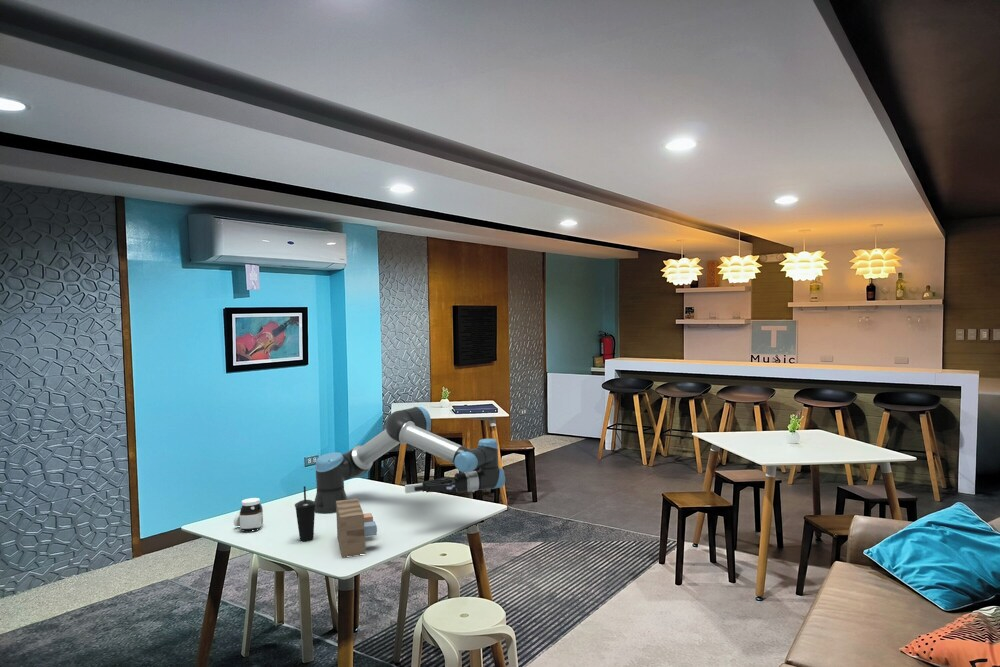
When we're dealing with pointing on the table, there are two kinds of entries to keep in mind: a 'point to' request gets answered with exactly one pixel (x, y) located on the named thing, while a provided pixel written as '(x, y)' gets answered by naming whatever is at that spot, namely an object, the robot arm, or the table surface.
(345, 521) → the brown wooden block
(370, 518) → the terracotta key
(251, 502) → the spread jar
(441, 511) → the table surface
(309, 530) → the drinking cup
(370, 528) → the slate key
